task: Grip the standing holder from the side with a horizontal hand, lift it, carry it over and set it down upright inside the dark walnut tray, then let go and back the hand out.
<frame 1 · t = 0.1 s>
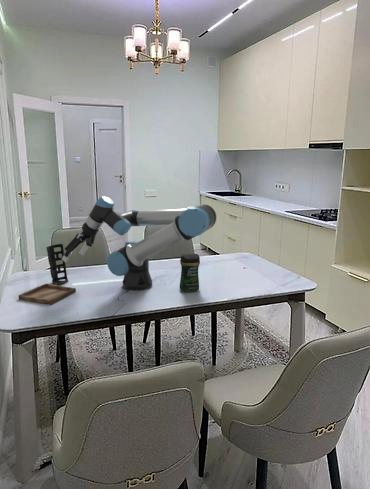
hand: (72, 257, 185), 15 cm above the table, tool tilted 35°, fingers open, 13 cm apart
coffee jar: (189, 290, 185), on the table
holder: (58, 283, 193), on the table
tray: (48, 295, 175), on the table
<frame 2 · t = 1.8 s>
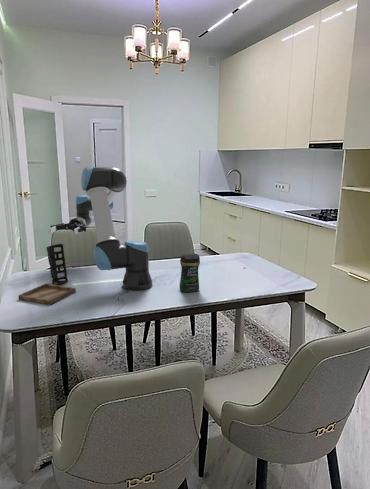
hand: (62, 231, 197), 25 cm above the table, tool horizontal, fingers open, 13 cm apart
nothing on the table moved.
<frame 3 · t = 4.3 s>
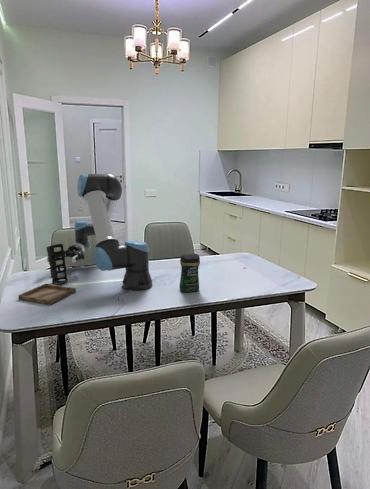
hand: (60, 260, 196), 11 cm above the table, tool horizontal, fingers open, 13 cm apart
nothing on the table moved.
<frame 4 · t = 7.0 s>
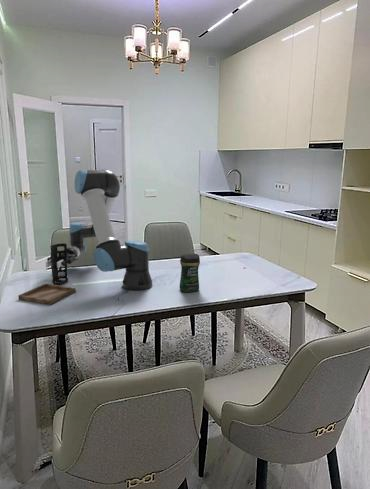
hand: (52, 265, 186), 11 cm above the table, tool horizontal, fingers closed on holder, 5 cm apart
holder: (58, 282, 193), on the table, touching gripper
everything else where it was.
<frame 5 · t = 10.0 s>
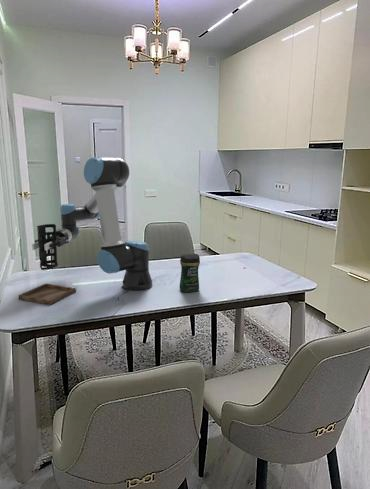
hand: (39, 247, 168), 24 cm above the table, tool horizontal, fingers closed on holder, 5 cm apart
holder: (46, 266, 175), point 13 cm above the table, touching gripper
everything else where it was.
when the fingers open (13 cm above the table, at t = 13.2 s): holder drops 2 cm, resting on tray.
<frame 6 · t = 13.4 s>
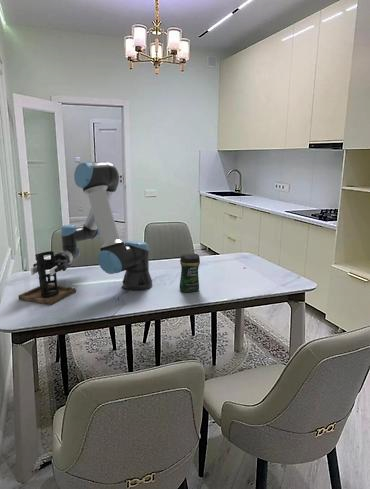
hand: (41, 272, 168), 13 cm above the table, tool horizontal, fingers open, 8 cm apart
holder: (47, 294, 175), point 1 cm above the table, touching gripper, tray
everything else where it was.
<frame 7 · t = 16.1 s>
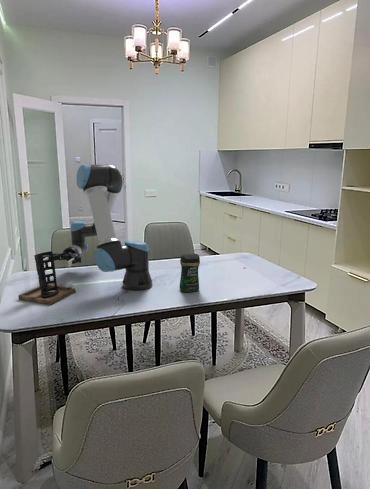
hand: (55, 263, 181), 13 cm above the table, tool horizontal, fingers open, 13 cm apart
holder: (47, 294, 175), resting on tray
everything else where it was.
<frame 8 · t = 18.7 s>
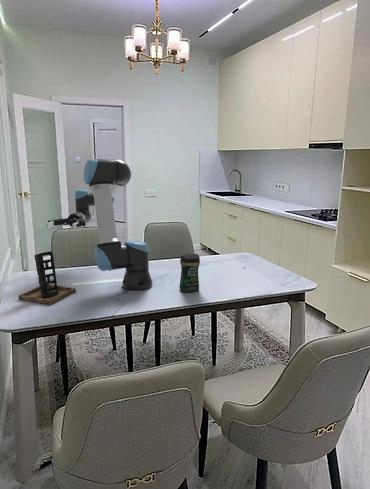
hand: (60, 226, 186), 30 cm above the table, tool horizontal, fingers open, 13 cm apart
nothing on the table moved.
at the end: holder inside the target area on the tray (0.2 cm from its centre), point 0.4 cm above the tray's base; holder tilted 0°; the gripper is holding nothing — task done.
